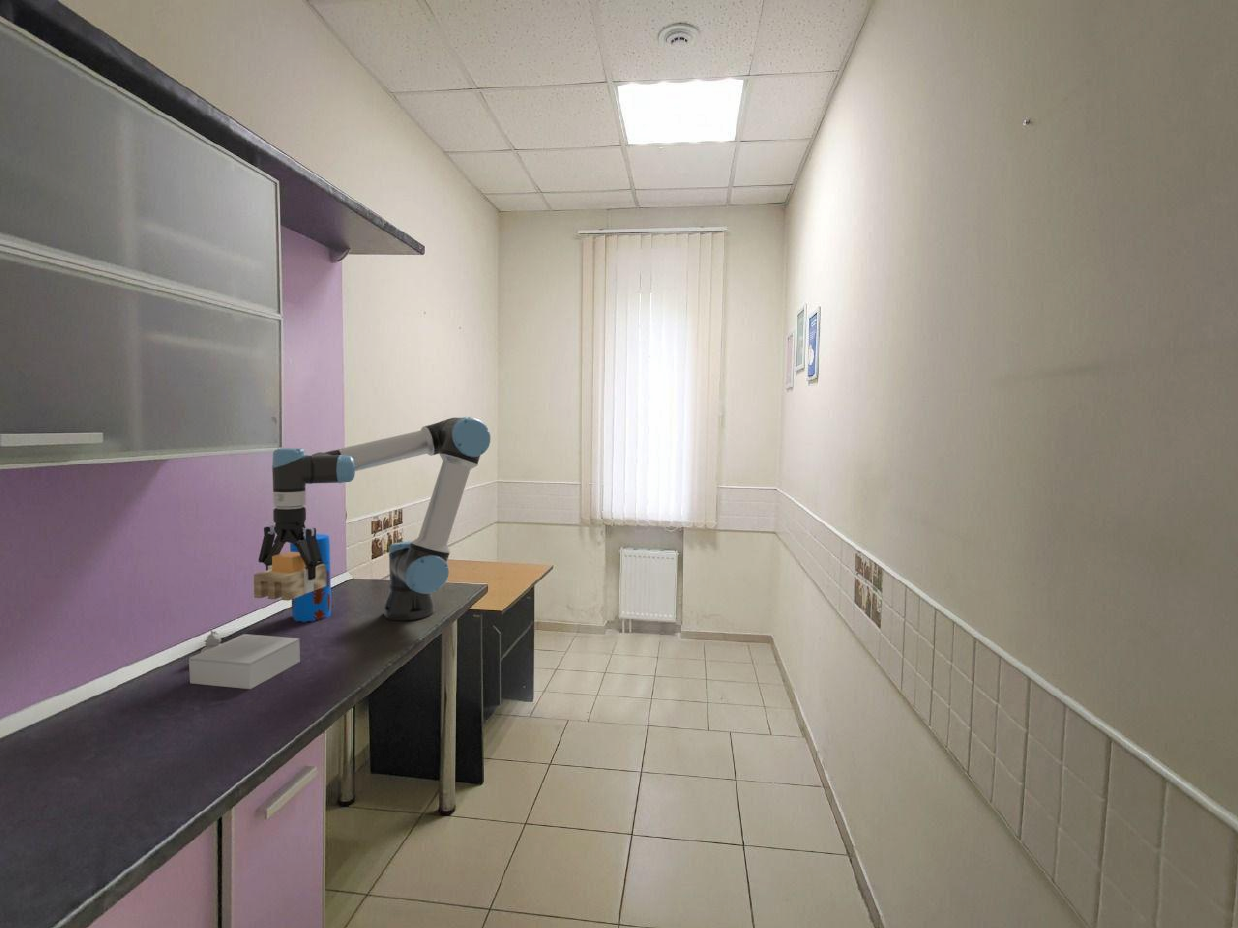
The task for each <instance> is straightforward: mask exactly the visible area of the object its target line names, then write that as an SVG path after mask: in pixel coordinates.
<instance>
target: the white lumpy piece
mask: <svg viewBox="0 0 1238 928" xmlns="http://www.w3.org/2000/svg"><path fill="white" fill-rule="evenodd" d="M203 642H204V645H205V646H204V648H202V649H201V651H200V653H202V652H204V651H206V650H209V649H211V648H213V647H216V646H218V645H220V644H221V642H222V638H221V635H220V634H219V633H217V632H216V631H213V630H212V629H210V633H209V635H207V637H206V639H205V640H204V641H203Z"/></svg>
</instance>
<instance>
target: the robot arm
mask: <svg viewBox="0 0 1238 928" xmlns="http://www.w3.org/2000/svg"><path fill="white" fill-rule="evenodd" d="M490 444H491V433H490V430H489V428H488V426H487V425H486V424H485V423H484V422H483V421H482V420H480V419H478V418H474V417H470V416H465V417H451V418H447V419H444V420H442V421H438V422H436V423H435V422H434V423H431V424H428V425H424V426H422V427H421V429H420V430H416V431H412V432H408V433H403V434H399V435H395V436H394V435H393V436H389V437H386V438H385V437H384V438H381V439H377V440H373V441H368V442H364V443H359V444H355V445H352V446H346V447H342V448H337V449H334V450H330V451H325V452H322V451H321V452H316V453H313V454H311V455H307V453H306V451H305V449H304V448H297V447H296V448H295V447H292V448H290V447H289V448H288V447H284V448H283V447H282V448H276V449H277V450H276V449H274V450H273V452H272V465H271V469H272V470H271V471H272V502H273V503H272V504H273V507H275V508H274V509H272V512H273V513H272V516H273V518H272V519H273V522H274V523H275V524H274V525H273V524H272V525H268V526H265V527H264V528H263V533H264V534H263V535H264V536H263V539H262V543H261V548H260V553H259V557H258V563H260V564H261V563H262V564H264V566H265V571H267V570H271V569H272V556H275V555H278V554H281V553H282V552H281V551H282V549H283V547H284V545H285V544H286V543H293V545H294V546H296V547H297V549H298V551H299V553H300V555H301V557H302V559H303V561H304V563H305V565H306V567H305V568H304V593H309V592H311V591H314V579H315V578H316V566H318V565H321V564H322V563H323V561H322V557H321V553H320V550H319V546H318V542H317V539H316V534H317V528H316V527H309V528H308V527H306V525H305V522H306V521H307V508H306V507H305V506H306V504H307V499H306V498H307V496H306V495H307V493H306V490H307V489H306V485H307V484H308V485H309V484H310V485H311V484H342V483H351V482H352V481H354V479H355V474H356V472H358V471H362V470H365V469H370V468H374V467H379V466H382V465H387V464H390V463H394V462H399V461H402V460H406V459H411V458H414V457H418V456H423V455H429V456H436V455H439V456H440V458H441V459H442V464H441V467H440V469H439V472H438V476H437V478H436V481H435V484H434V486H433V491H432V495H431V497H430V500H429V503H428V507H427V510H426V513H425V516H424V518H423V521H422V525H421V528H420V530H419V534H418V537H417V538H415V539H414V540H409V541H402V542H395V543H392V544H390V545H389V552H388V560H389V561H388V565H389V566H388V567H389V569H388V570H389V592H388V596H387V599H386V602H385V604H384V610H383V611H384V612H383V614H384V615H383V616H384V617H385V619H388V620H392V621H412V620H419V619H423V618H426V617H429V616H431V615H432V614H434V613H435V603H434V600H433V596H432V594H433V593H435V592H436V591H438V590H440V589H441V588H443V586H444V585H445V584H446V582H447V580H448V578H449V572H450V571H449V565H448V564H447V563H448V559H449V556H450V553H451V551H450V549H449V547H448V543H449V542H448V541H449V539H450V535H451V532H452V529H453V525H454V523H455V519H456V517H457V514H458V512H459V511H458V510H459V507H460V503H461V502H462V498H463V494H464V491H465V489H466V485H467V482H468V479H469V477H470V476H469V475H470V472H471V470H472V469H474V468H476V467H477V466H478V464H479V461H480V458H481V455H483V454H484V453H486V452H487V450H488V449H489V447H490ZM304 536H306V539H305V537H304ZM299 540H300V541H299ZM306 542H307V544H306Z"/></svg>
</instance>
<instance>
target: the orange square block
mask: <svg viewBox="0 0 1238 928" xmlns="http://www.w3.org/2000/svg"><path fill="white" fill-rule="evenodd" d="M305 567H306V565H305V563H304V561H303V559H302V557H301V555H300V553H299V552H290V551H287V552H283V553H282V552H281V553H280V554H278V555H275V556H272V571H273V572H286V573H294V572H297V571H300V570H303V569H304V568H305Z"/></svg>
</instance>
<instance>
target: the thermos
mask: <svg viewBox="0 0 1238 928" xmlns="http://www.w3.org/2000/svg"><path fill="white" fill-rule="evenodd" d="M304 537H305V539H306V536H304ZM316 539H317V542H318V546H319V550H320V553H321V557H322V561H323V563H322V564H324V565H326V586H325V587H322V588H320V589H317V590H315V591H312V592H310V593H307V594H304V595H302V596H299V597H297V598H294V599H292V600H291V611H292V620H293V619H294V620H296V621H295V622H298V621H303V622H302V623H307V621H311V622H316V620H318V621H321V620H320V619H322V620H324V619H326V618H329V617H330V616H331V614H332V613H331V612H332V611H331V610H332V590H331V589H332V587H331V586H332V585H331V583H332V581H331V579H332V578H331V547H330V546H331V543H330V542H331V541H330V536H329V535H328V534H322V533H321V534H320V533H318V534H317V533H316ZM299 541H300V540H299ZM306 544H307V542H306ZM289 545H290V546H289V550H290V551H289V552H299V551H298V549H297V547H296V546H294V545H293V543H290V544H289Z"/></svg>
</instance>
